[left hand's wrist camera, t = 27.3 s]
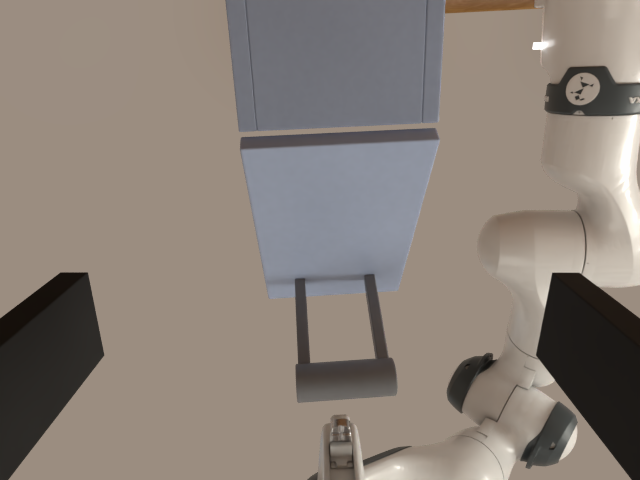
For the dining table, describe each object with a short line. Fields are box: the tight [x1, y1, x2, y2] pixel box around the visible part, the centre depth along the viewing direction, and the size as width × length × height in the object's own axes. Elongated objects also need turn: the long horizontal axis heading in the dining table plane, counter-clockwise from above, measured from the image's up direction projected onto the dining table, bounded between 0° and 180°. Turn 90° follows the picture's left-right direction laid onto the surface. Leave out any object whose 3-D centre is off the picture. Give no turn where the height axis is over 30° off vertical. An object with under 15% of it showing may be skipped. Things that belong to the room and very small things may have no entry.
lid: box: [240, 128, 440, 403], centre depth 24 cm, size 14×9×9 cm
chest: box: [226, 0, 445, 132], centre depth 25 cm, size 14×9×10 cm
